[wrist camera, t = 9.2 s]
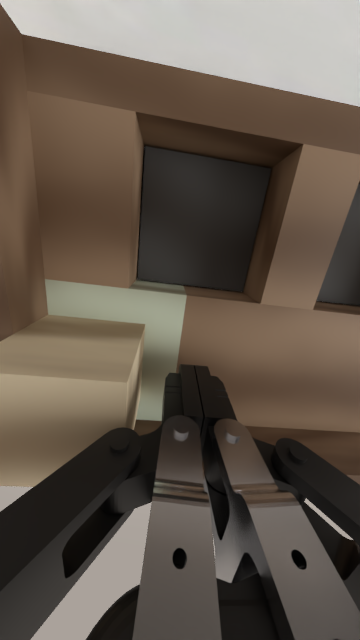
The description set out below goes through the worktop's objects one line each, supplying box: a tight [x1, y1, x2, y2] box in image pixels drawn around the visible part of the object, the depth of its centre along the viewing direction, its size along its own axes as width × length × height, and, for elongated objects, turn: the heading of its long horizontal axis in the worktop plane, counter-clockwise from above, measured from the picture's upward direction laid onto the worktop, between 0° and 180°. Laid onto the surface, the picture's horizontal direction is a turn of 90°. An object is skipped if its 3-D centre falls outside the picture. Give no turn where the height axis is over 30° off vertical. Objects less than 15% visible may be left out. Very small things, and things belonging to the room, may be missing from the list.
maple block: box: [0, 315, 145, 487], centre depth 9 cm, size 5×5×5 cm
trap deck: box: [0, 4, 360, 485], centre depth 11 cm, size 18×25×6 cm
